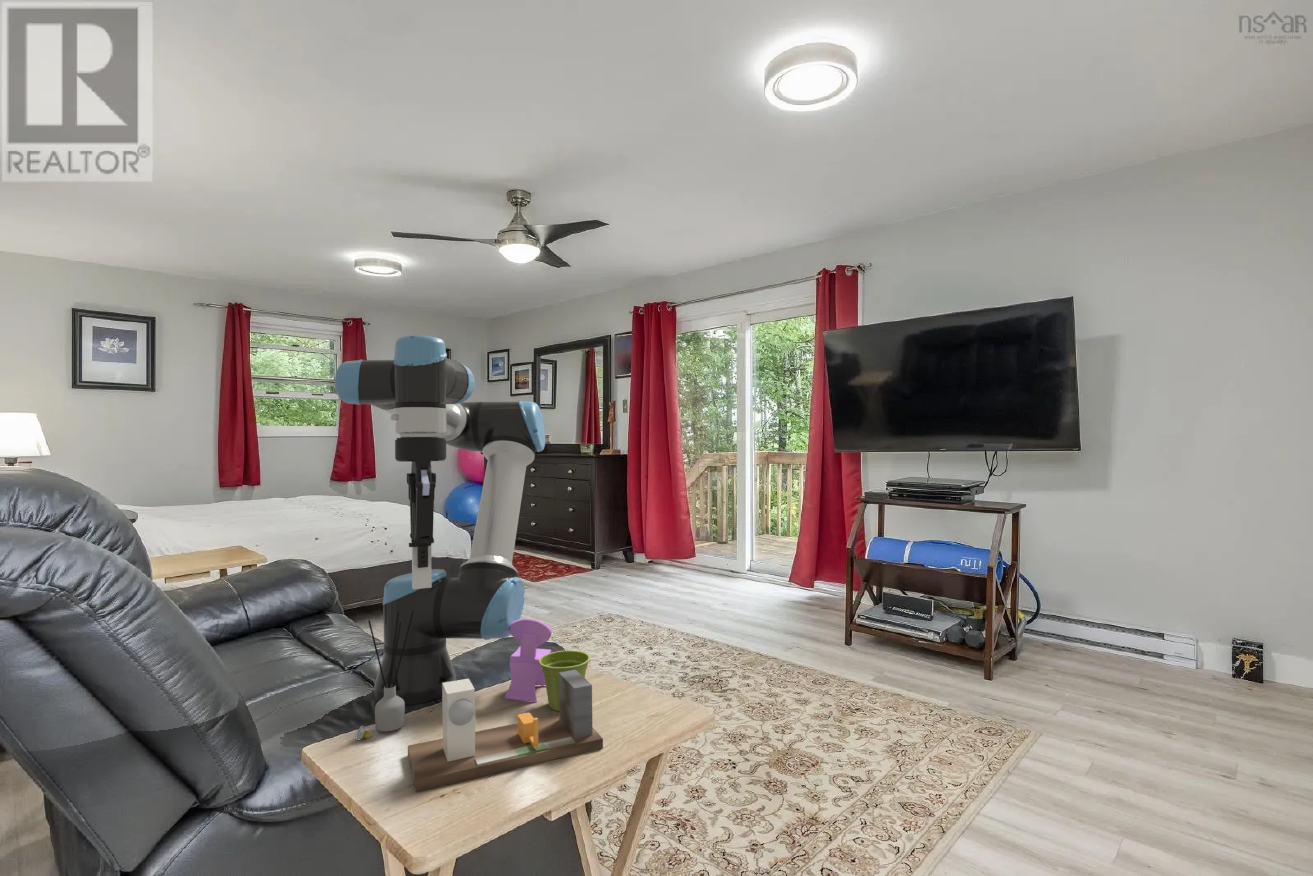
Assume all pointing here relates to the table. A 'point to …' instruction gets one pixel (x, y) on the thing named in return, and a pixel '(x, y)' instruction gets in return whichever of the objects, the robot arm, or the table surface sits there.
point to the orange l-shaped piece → (528, 728)
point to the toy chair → (527, 658)
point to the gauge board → (514, 742)
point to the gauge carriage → (458, 719)
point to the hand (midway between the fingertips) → (421, 587)
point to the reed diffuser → (388, 695)
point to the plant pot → (561, 670)
